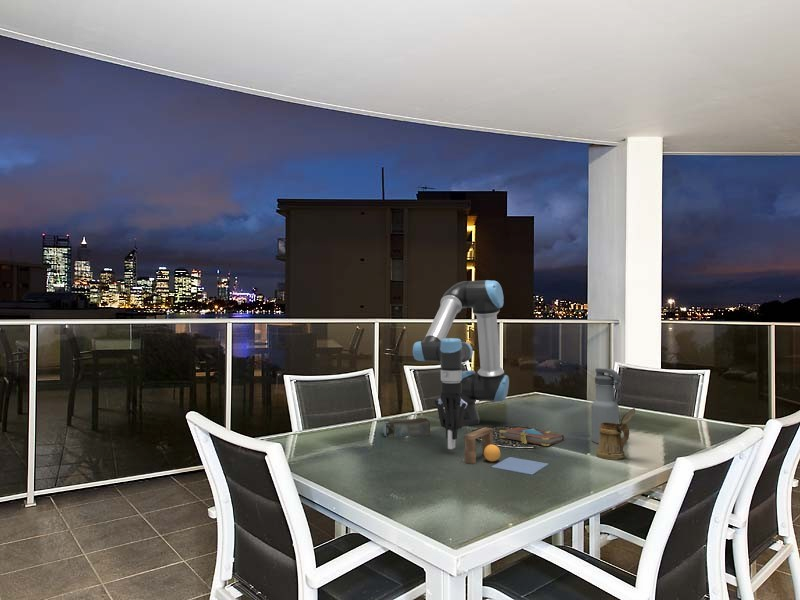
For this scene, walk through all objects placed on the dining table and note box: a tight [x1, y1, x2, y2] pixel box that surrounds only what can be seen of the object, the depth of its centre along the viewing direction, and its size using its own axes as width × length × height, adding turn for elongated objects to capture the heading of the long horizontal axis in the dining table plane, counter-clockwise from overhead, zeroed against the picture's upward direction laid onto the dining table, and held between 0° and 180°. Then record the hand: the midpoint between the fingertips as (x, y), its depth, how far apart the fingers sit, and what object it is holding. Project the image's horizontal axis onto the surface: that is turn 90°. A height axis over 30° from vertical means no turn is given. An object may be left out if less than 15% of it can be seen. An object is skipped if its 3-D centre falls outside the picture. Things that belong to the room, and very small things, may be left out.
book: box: [498, 426, 565, 447], centre depth 211 cm, size 16×25×5 cm, turn 47°
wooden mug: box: [596, 407, 636, 461], centre depth 184 cm, size 9×14×18 cm, turn 40°
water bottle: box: [590, 367, 621, 444], centre depth 206 cm, size 10×10×28 cm
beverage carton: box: [382, 417, 431, 438], centre depth 220 cm, size 8×19×6 cm, turn 101°
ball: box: [483, 444, 501, 462], centre depth 181 cm, size 6×6×6 cm
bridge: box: [464, 426, 494, 465], centre depth 184 cm, size 3×14×9 cm, turn 144°
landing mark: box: [490, 456, 549, 476], centre depth 175 cm, size 14×14×1 cm
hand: (451, 448), depth 190 cm, fingers closed
